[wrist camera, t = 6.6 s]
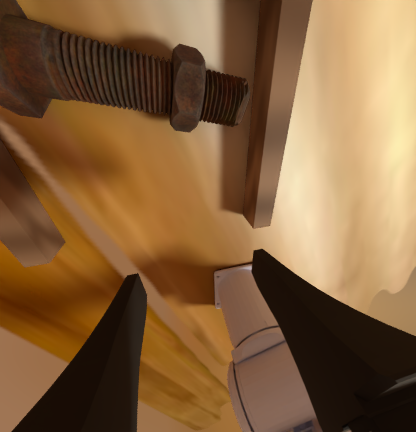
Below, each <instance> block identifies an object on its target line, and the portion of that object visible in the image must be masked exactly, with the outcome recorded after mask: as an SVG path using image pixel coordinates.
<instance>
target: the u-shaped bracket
mask: <svg viewBox="0 0 416 432" xmlns="http://www.w3.org/2000/svg"><path fill="white" fill-rule="evenodd" d="M312 1H313V0H261V1H260V13H259V26H258V38H257V50H256V62H255V75H254V87H253V99H252V111H251V124H250V136H249V148H248V160H247V173H246V185H245V197H244V210H243V216H244V217H245V218H246V220H247V221H248V222H249V224H250V225H251V226H252V228H253V229H255V228H261V227H267V226H270V224H271V219H272V213H273V208H274V203H275V197H276V192H277V187H278V181H279V176H280V171H281V165H282V160H283V155H284V150H285V144H286V139H287V134H288V128H289V123H290V118H291V112H292V107H293V102H294V96H295V91H296V86H297V80H298V75H299V70H300V64H301V59H302V54H303V48H304V43H305V38H306V32H307V27H308V22H309V17H310V11H311V6H312ZM0 240H1V241H2V242H3V243H4V245H5V246H6V247H7V248H8V249H9V250H10V251H11V252H12V254H13V255H14V256H15V257H16V258H17V259H18V260H19V261H20V263H21V264H22V265H23V266H24V267H29V266H35V265H41V264H47V263H50V262H51V261H52V259H53V258H54V257H55V255H56V254H57V253H58V251H59V250H60V249H61V247H62V246H63V245H64V243H65V241H64V239H63V238H62V236H61V234H60V233H59V231H58V230H57V228H56V227H55V225H54V223H53V222H52V220H51V219H50V217H49V215H48V214H47V212H46V211H45V209H44V207H43V206H42V204H41V203H40V201H39V200H38V198H37V196H36V195H35V193H34V192H33V190H32V188H31V187H30V185H29V184H28V182H27V181H26V179H25V177H24V176H23V174H22V173H21V171H20V169H19V168H18V166H17V165H16V163H15V161H14V160H13V158H12V157H11V155H10V154H9V152H8V150H7V149H6V147H5V146H4V144H3V142H2V141H1V139H0Z"/></svg>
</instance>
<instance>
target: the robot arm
mask: <svg viewBox="0 0 416 432" xmlns="http://www.w3.org/2000/svg"><path fill="white" fill-rule="evenodd" d="M214 290H215V308H216V309H219V308H222V312H223V315H224V319H225V322H226V326H227V329H228V333H229V336H230V340H231V343H232V345H233V347H234V350H232V351H231V353H232V357H233V361H231V362H230V364H229V370H228V374H227V380H228V388H229V394H230V398H231V402H232V405H233V409H234V412H235V415H236V418H237V421H238V423H239V425H240V428H241V430H242V431H243V432H416V336H414V335H411V334H409V333H406V332H404V331H402V330H399V329H397V328H394V327H392V326H390V325H387V324H385V323H383V322H381V321H378V320H376V319H374V318H372V317H370V316H368V315H365V314H363V313H361V312H359V311H357V310H355V309H353V308H351V307H349V306H348V305H346V304H344V303H342V302H340V301H338V300H336V299H334V298H333V297H331V296H329V295H327V294H326V293H324V292H322V291H321V290H319V289H317V288H316V287H314V286H313V285H311V284H310V283H308V282H307V281H305V280H304V279H302V278H301V277H299V276H298V275H296V274H295V273H294V272H292V271H291V270H289V269H288V268H287V267H285V266H284V265H283V264H281V263H280V262H279V261H278V260H276V259H275V258H274V257H272V256H271V255H270V254H269V253H267V252H266V251H265V250H263V249H259V250H254V253H253V261H252V264H248V265H243V266H238V267H233V268H228V269H223V270H218V271H215V272H214ZM146 310H147V294H146V291H145V289H144V287H143V284H142V282H141V279H140V276H139V274H138V273H137V274H132V275H127V277H126V278H125V280H124V282H123V283H122V285H121V287H120V289H119V291H118V292H117V294H116V296H115V298H114V299H113V301H112V303H111V304H110V306H109V307H108V309H107V311H106V312H105V314H104V316H103V317H102V319H101V320H100V322H99V323H98V325H97V326H96V328H95V329H94V331H93V332H92V334H91V335H90V336H89V338H88V339H87V341H86V342H85V344H84V345H83V346H82V348H81V349H80V350H79V352H78V353H77V354H76V356H75V357H74V358H73V360H72V361H71V362H70V363H69V365H68V366H67V367H66V368H65V370H64V371H63V372H62V373H61V375H60V376H59V377H58V378H57V380H56V381H55V382H54V384H53V385H52V386H51V387H50V388H49V389H48V391H47V392H46V393H45V394H44V395H43V396H42V398H41V399H40V400H39V401H38V402H37V403H36V404H35V406H34V407H33V408H32V409H31V410H30V411H29V412H28V413H27V415H26V416H25V417H24V418H23V419H22V420H21V421H20V423H19V424H18V425H17V426H16V427H15V428H14V429H13V431H12V432H137V406H138V405H137V404H138V383H139V366H140V356H141V349H142V342H143V335H144V327H145V320H146Z"/></svg>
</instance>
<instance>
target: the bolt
mask: <svg viewBox="0 0 416 432" xmlns="http://www.w3.org/2000/svg"><path fill="white" fill-rule="evenodd" d="M52 99H59V100H65V101H69V100H76V101H83V102H89V103H95V104H98V103H99V104H100V105H104V104H106V105H107V106H110V105H111V106H113V107H115V106H116V105H117V107H118V108H121V106H122V107H123V108H124V109H126V107H128V109H129V110H130V109H131V108H132V107H133V109H134V110H135V111H136V109H137V108H138V110H139V111H141V110H142V109H143V110H144V112H146V111H147V109H148V111H149V113H151V111H152V110H153V112H154V113H156V112H157V111H158V113H159V114H161V112H163V114H164V115H165V114H166V113H167V114H168V115H169V118H170V125H171V126H172V127H173V128H174V130H176V131H182V132H190V131H192V130H193V129H195V128H196V127H197V125H198V122H199V121H201V120H203V121H204V122H206V121H207V122H208V123H209V122H211V123H214V122H215V124H218V123H219V124H220V125H221V124H223V125H227V126H231V127H233V126H234V125H238V124H239V123H240V122H241V120H242V118H243V115H244V113H245V110H246V107H247V104H248V102H249V99H250V90H249V86H248V83H247V81H246V79H242V78H241V77H239V78H238V77H236V76H235V77H234V76H233V75H232V76H230V75H228V74H226V75H225V74H224V73H222V74H220V72H217V73H216V72H215V71H212V72H211V70H207V71H206V67H205V60H204V58H203V56H202V54H201V53H200V52H199V51H198V50H197V49H196V48H193V47H189V46H186V45H182V44H179V45H177V46H176V47H175V48H174V49H173V53H172V61H171V62H170V60H169V59H168V60H167V62H166V61H165V59H164V57H163V58H162V60H161V61H160V59H159V57H158V56H157V57H156V59H155V58H154V57H153V55H151V56H150V58H149V56H148V54H147V53H145V55H144V56H143V55H142V53H141V51H140V53H139V54H138V55H137V53H136V51H135V50H134V51H133V52H132V53H131V51H130V49H129V48H128V49H127V51H125V49H124V48H123V47H121V48H120V50H119V48H118V47H117V45H115V46H114V48H113V47H112V45H111V44H108V46H106V45H105V43H104V42H102V43H101V45H100V44H99V42H98V41H97V40H95V41H94V42H93V41H92V40H91V39H90V38H87V40H86V39H85V38H84V37H83V36H80V37H78V36H77V35H76V34H72V35H71V34H70V33H69V32H65V33H64V32H63V31H61V30H57V29H54V28H53V27H51V26H50V25H47V24H43V23H40V22H36V21H32V20H28V18H27V17H26V15H25V14H24V12H23V10H22V9H21V7H20V6H19V4H18V3H17V1H16V0H0V106H2V107H4V108H6V109H8V110H10V111H12V112H14V113H16V114H18V115H21V116H28V117H35V118H42V117H43V115H44V113H45V111H46V109H47V107H48V105H49V104H50V102H51V100H52Z"/></svg>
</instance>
